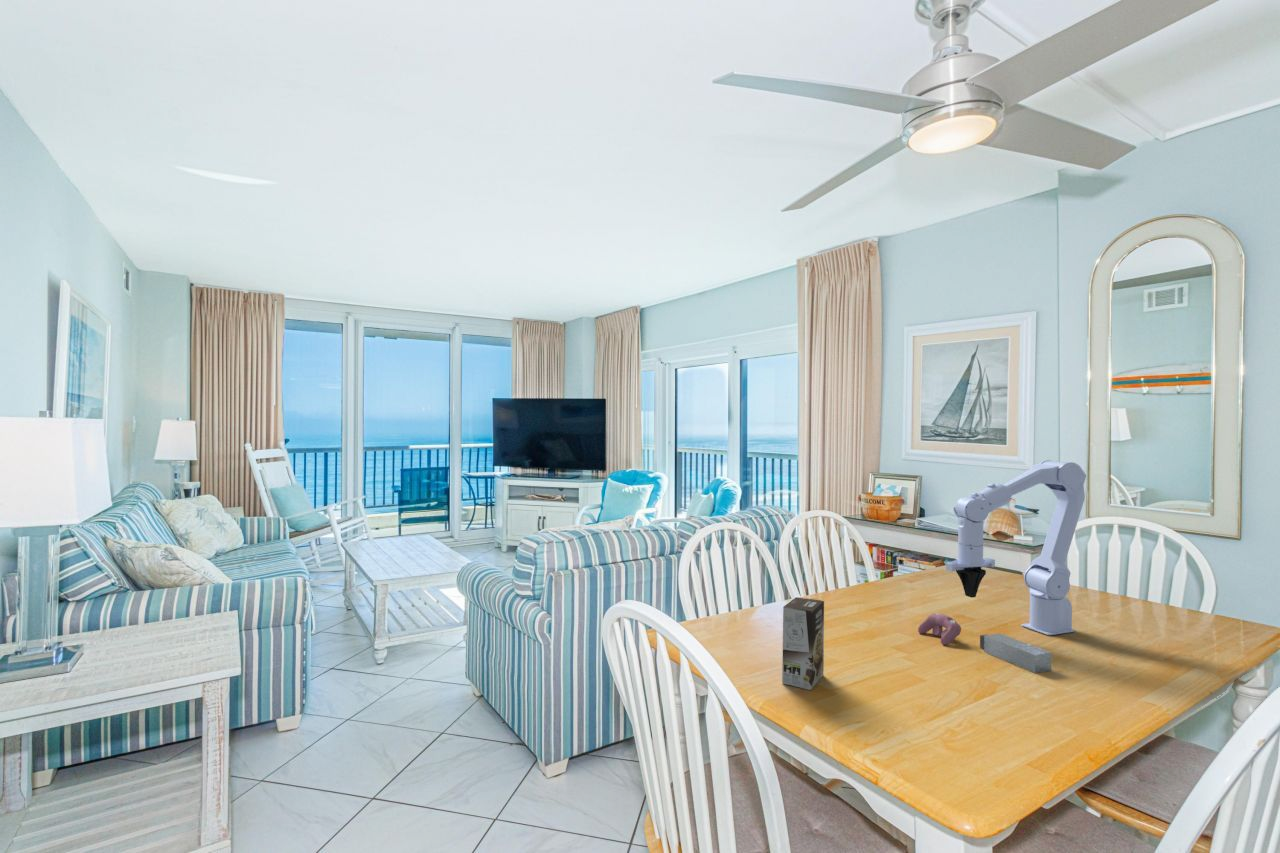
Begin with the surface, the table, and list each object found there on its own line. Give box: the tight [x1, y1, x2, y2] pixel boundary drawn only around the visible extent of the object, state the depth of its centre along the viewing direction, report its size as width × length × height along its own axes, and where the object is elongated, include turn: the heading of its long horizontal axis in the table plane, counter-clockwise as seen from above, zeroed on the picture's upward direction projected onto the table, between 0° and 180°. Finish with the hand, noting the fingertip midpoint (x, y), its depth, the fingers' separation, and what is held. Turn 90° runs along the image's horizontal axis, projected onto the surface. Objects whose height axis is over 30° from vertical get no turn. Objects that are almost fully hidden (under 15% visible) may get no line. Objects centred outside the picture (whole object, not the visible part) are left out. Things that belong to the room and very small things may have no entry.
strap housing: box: [983, 632, 1052, 674], centre depth 142 cm, size 5×13×4 cm, turn 19°
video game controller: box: [917, 612, 962, 646], centre depth 157 cm, size 10×5×7 cm, turn 14°
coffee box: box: [781, 597, 825, 691], centre depth 131 cm, size 9×6×16 cm
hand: (970, 596), depth 162 cm, fingers closed
